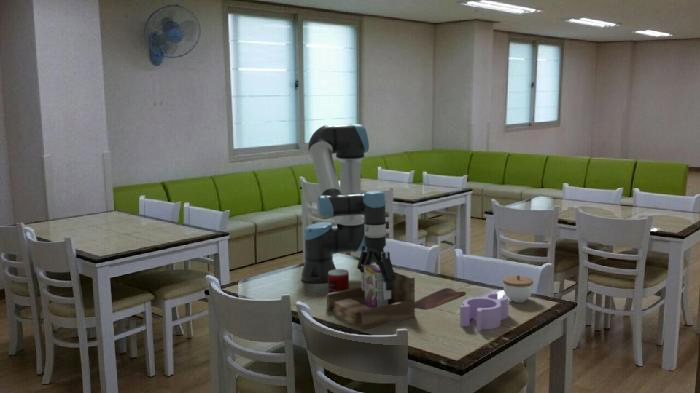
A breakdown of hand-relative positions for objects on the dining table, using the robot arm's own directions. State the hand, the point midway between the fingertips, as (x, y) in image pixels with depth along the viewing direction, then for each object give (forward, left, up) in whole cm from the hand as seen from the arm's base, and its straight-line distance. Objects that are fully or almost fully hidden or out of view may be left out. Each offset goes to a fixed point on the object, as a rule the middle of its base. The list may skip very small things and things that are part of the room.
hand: (376, 294), depth 226 cm
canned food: (-19, -4, -7) cm, 21 cm away
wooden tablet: (+2, +26, -7) cm, 27 cm away
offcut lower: (0, -10, -7) cm, 12 cm away
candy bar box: (0, 0, -7) cm, 7 cm away
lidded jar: (+20, +50, -7) cm, 54 cm away
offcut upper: (0, -10, -5) cm, 11 cm away
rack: (0, -2, -7) cm, 7 cm away
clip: (+29, +25, -7) cm, 39 cm away
